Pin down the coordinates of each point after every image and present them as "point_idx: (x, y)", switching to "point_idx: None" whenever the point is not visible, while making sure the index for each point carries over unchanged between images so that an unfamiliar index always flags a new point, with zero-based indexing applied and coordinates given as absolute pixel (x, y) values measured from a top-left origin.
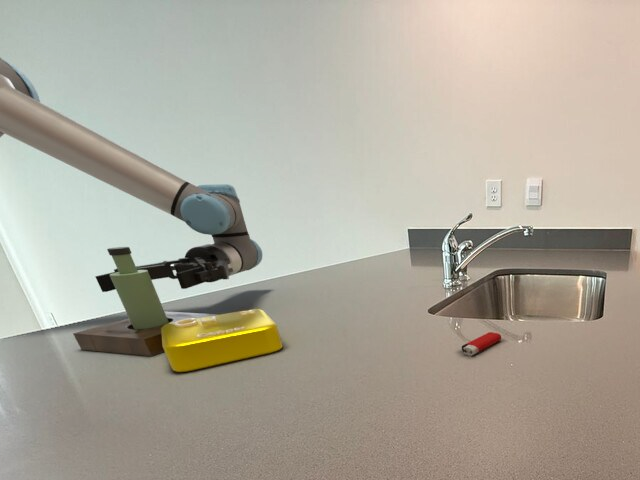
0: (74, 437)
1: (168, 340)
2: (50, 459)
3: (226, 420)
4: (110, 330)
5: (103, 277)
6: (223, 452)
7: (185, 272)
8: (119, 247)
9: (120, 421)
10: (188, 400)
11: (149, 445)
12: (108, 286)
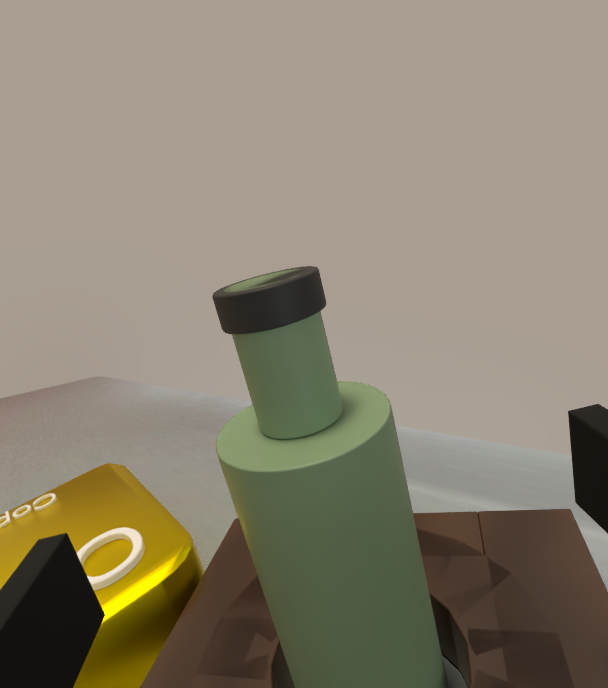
0: (181, 415)
1: (116, 475)
2: (178, 403)
3: (38, 457)
4: (450, 552)
5: (587, 434)
6: (40, 436)
7: (7, 585)
8: (279, 280)
9: (152, 433)
10: (88, 469)
11: (104, 426)
12: (591, 495)
